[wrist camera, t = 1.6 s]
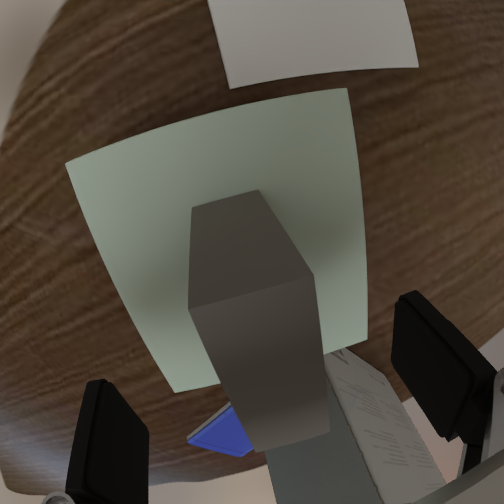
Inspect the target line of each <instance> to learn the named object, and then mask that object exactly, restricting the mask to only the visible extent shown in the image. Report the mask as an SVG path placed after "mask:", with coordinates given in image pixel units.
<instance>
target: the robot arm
mask: <svg viewBox="0 0 504 504" xmlns="http://www.w3.org/2000/svg"><path fill="white" fill-rule="evenodd" d="M391 362H392V365H393V367H394V369H395V370H396V372H397V373H398V374H399V376H400V377H401V379H402V380H403V382H404V383H405V385H406V386H407V388H408V389H409V391H410V392H411V394H412V395H413V397H414V398H415V400H416V401H417V403H418V404H419V406H420V407H421V409H422V410H423V412H424V413H425V415H426V416H427V418H428V420H429V421H430V423H431V424H432V426H433V427H434V429H435V430H436V432H437V434H438V435H439V436H440V437H445V438H446V440H447V441H448V442H450V441H451V440H453V439H455V438H456V437H458V436H459V437H460V438H461V440H462V441H463V443H464V445H463V450H462V456H461V461H460V466H459V470H458V474H457V478H456V479H455V480H453V481H452V482H450V483H448V484H446V485H445V486H443V487H441V488H439V489H437V490H436V491H434V492H432V493H430V494H428V495H426V496H425V497H423V498H421V499H419V500H417V501H415V502H413V503H411V504H504V368H502V369H501V370H500V371H498V372H497V371H496V370H495V368H494V367H493V366H492V365H491V364H490V363H489V362H488V361H487V360H486V358H485V357H484V356H483V355H482V354H481V353H480V352H479V351H478V350H477V349H476V348H475V347H474V346H473V344H472V343H471V342H470V341H469V340H468V339H467V338H466V337H465V336H464V335H463V334H462V333H461V332H460V331H459V330H458V329H457V328H456V327H455V326H454V325H453V324H452V323H451V322H450V321H449V320H447V319H446V318H445V317H444V316H443V315H442V314H441V313H440V312H439V311H438V310H437V309H436V308H435V307H434V306H433V305H432V304H431V303H430V302H429V301H428V300H427V299H426V298H425V297H424V296H423V295H421V294H420V293H419V292H418V291H417V290H414V291H411V292H409V293H406V294H404V295H401V296H400V297H399V300H398V302H396V303H395V314H394V329H393V341H392V352H391ZM148 465H149V431H148V429H147V427H146V425H145V424H144V423H143V422H142V421H141V419H140V418H139V417H138V416H137V415H136V413H135V412H134V411H133V410H132V408H131V407H130V406H129V404H128V403H127V402H126V401H125V399H124V398H123V397H122V395H121V394H120V393H119V391H118V390H117V389H116V387H115V386H114V385H113V384H112V383H111V382H108V381H107V380H105V379H99V380H93V381H89V382H88V383H87V385H86V389H85V393H84V397H83V401H82V405H81V409H80V413H79V418H78V422H77V426H76V431H75V436H74V441H73V446H72V451H71V456H70V462H69V468H68V474H67V480H66V486H65V488H66V490H65V493H64V492H59V491H58V492H53V493H51V494H49V495H47V496H46V498H44V500H43V502H42V504H148Z"/></svg>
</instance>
